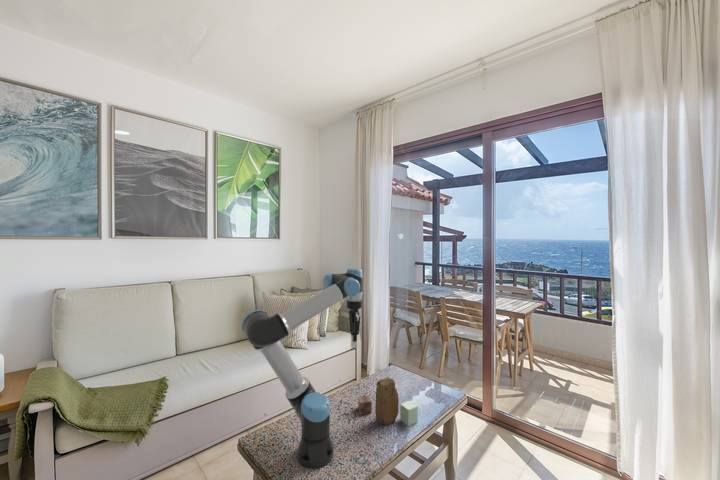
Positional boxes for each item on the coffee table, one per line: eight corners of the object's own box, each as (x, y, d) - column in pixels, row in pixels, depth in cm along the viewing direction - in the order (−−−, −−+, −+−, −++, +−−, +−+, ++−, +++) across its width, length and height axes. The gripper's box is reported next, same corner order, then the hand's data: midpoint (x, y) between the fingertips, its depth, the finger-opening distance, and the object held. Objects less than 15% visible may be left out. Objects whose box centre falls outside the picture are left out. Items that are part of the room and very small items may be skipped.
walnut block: (359, 414, 155) (360, 402, 155) (358, 407, 161) (358, 396, 161) (371, 413, 156) (371, 401, 156) (369, 406, 162) (369, 395, 162)
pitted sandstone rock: (382, 427, 145) (382, 386, 144) (373, 419, 151) (374, 379, 151) (400, 420, 150) (400, 380, 150) (391, 412, 157) (391, 374, 156)
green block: (408, 426, 146) (408, 410, 146) (400, 419, 151) (400, 404, 151) (417, 422, 149) (417, 406, 149) (409, 416, 154) (409, 400, 154)
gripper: (365, 302, 144) (365, 351, 145) (357, 296, 157) (357, 341, 157) (350, 303, 142) (350, 353, 142) (343, 297, 154) (343, 343, 155)
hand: (354, 347), depth 150 cm, fingers closed
